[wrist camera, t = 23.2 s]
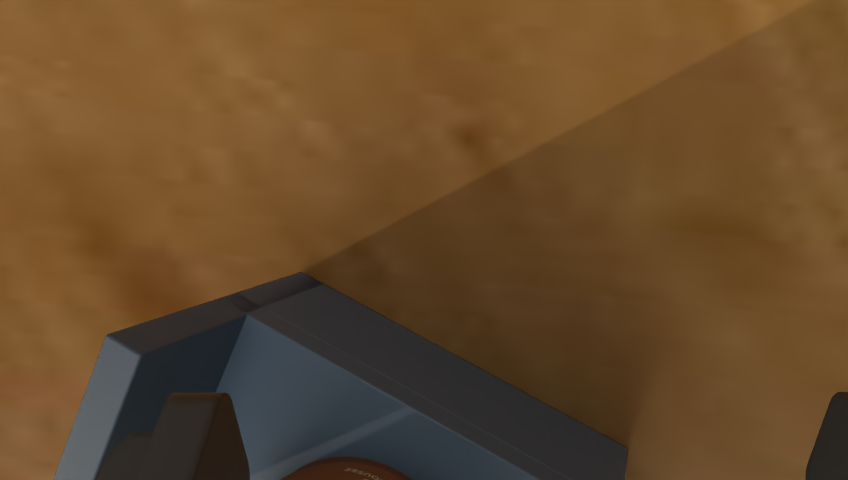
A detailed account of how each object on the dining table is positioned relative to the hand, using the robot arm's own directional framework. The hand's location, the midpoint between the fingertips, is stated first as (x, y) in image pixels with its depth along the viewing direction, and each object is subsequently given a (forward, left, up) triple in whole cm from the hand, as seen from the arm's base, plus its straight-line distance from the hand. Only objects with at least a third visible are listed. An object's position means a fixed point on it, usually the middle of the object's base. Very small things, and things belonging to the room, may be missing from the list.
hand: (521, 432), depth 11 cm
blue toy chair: (+4, +14, -27) cm, 30 cm away
